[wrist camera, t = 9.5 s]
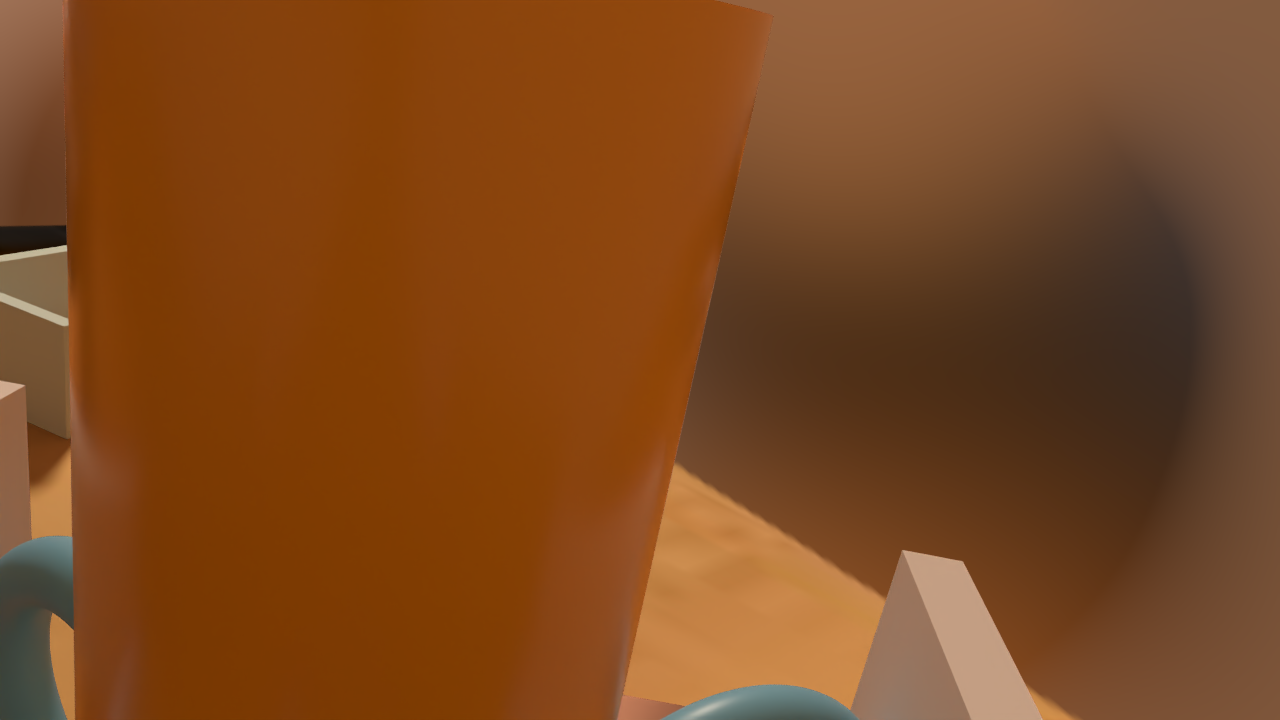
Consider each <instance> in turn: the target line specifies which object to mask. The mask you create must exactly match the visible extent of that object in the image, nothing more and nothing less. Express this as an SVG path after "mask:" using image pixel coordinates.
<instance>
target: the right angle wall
mask: <svg viewBox="0 0 1280 720" xmlns="http://www.w3.org/2000/svg"><path fill="white" fill-rule="evenodd" d="M0 381H5V382H10V383H16V384H21V385H26V410H27V422H29V423H31V424H33V425H36V426H38V427H40V428H42V429H44V430H47V431H49V432H51V433H53V434H56V435H58V436H60V437H62V438H65V439H69V438H71V433H70V378H69V323H68V269H67V245H66V246H60V247H53V248H47V249H40V250H34V251H27V252H21V253H14V254H8V255H1V256H0Z"/></svg>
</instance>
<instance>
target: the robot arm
mask: <svg viewBox="0 0 1280 720" xmlns="http://www.w3.org/2000/svg"><path fill="white" fill-rule="evenodd" d="M30 540H32V536H31V511H30V486H29V460H28V435H27V410H26V385H21V384H16V383H10V382H5V381H0V559H1V558H2V557H3V556H4V555H5V554H6V553H8V552H9V551H10V550H12V549H13V548H15V547H17V546H18V545H20V544H22V543H25V542H27V541H30ZM850 711H851V712H852V713H853V714H854V715H855V716H856V717H857V718H858V719H859V720H1043V719H1042V717H1041V715H1040V713H1039V711H1038V709H1037V707H1036V705H1035V703H1034V701H1033V699H1032V697H1031V695H1030V693H1029V691H1028V689H1027V687H1026V685H1025V683H1024V681H1023V679H1022V677H1021V675H1020V674H1019V671H1018V669H1017V667H1016V666H1015V664H1014V662H1013V660H1012V658H1011V656H1010V654H1009V652H1008V650H1007V648H1006V646H1005V644H1004V642H1003V640H1002V638H1001V636H1000V634H999V632H998V630H997V628H996V626H995V624H994V622H993V620H992V618H991V616H990V614H989V612H988V610H987V609H986V606H985V604H984V603H983V601H982V599H981V597H980V595H979V593H978V591H977V589H976V587H975V585H974V583H973V581H972V579H971V577H970V575H969V573H968V571H967V569H966V567H965V565H964V563H963V562H962V561H957V560H952V559H947V558H941V557H936V556H931V555H925V554H920V553H915V552H909V551H904V550H903V551H902V553H901V556H900V559H899V562H898V565H897V568H896V572H895V575H894V578H893V581H892V584H891V587H890V590H889V593H888V596H887V599H886V602H885V605H884V608H883V612H882V615H881V618H880V621H879V624H878V627H877V630H876V633H875V636H874V639H873V642H872V645H871V649H870V652H869V655H868V658H867V661H866V664H865V667H864V670H863V673H862V676H861V679H860V682H859V685H858V689H857V692H856V695H855V698H854V701H853V704H852V707H851V710H850Z"/></svg>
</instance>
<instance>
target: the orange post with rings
mask: <svg viewBox="0 0 1280 720" xmlns="http://www.w3.org/2000/svg"><path fill="white" fill-rule="evenodd" d="M773 17H774V16H772V15H769V14H767V13H763V12H760V11H756V10H752V9H748V8H744V7H740V6H736V5H732V4H728V3H724V2H720V1H715V0H63V51H64V52H63V54H64V105H65V106H64V108H65V158H66V160H65V161H66V213H67V269H68V323H69V378H70V433H71V491H72V537H68V536H47V537H41V538H37V539H33V540H30V541H27V542H25V543H22V544H20V545H18V546H17V547H15V548H13V549H12V550H10V551H9V552H8V553H6V554H5V555H4V556H3V557H2V558H1V559H0V720H67V718H66V715H65V712H64V709H63V706H62V703H61V700H60V697H59V694H58V690H57V686H56V682H55V678H54V673H53V668H52V662H51V654H50V622H51V616H52V612H53V613H54V614H56V615H57V616H59V617H60V618H61V619H62V620H64V621H65V622H66V623H67V624H68V625H69V626H70V627H71V628H72V629H73V630H74V668H75V720H617V718H618V714H619V709H620V705H621V700H622V696H623V691H624V687H625V682H626V677H627V673H628V668H629V664H630V659H631V655H632V650H633V646H634V641H635V637H636V632H637V628H638V623H639V619H640V614H641V610H642V605H643V601H644V596H645V592H646V587H647V583H648V578H649V574H650V569H651V565H652V560H653V556H654V551H655V547H656V542H657V538H658V533H659V529H660V524H661V520H662V515H663V511H664V506H665V502H666V497H667V493H668V488H669V484H670V479H671V475H672V470H673V466H674V461H675V457H676V452H677V448H678V443H679V438H680V434H681V430H682V425H683V421H684V416H685V412H686V407H687V403H688V398H689V393H690V389H691V385H692V380H693V376H694V371H695V367H696V362H697V358H698V354H699V349H700V344H701V340H702V336H703V331H704V327H705V322H706V318H707V313H708V308H709V304H710V299H711V295H712V291H713V286H714V281H715V277H716V273H717V268H718V264H719V259H720V255H721V250H722V246H723V241H724V237H725V232H726V228H727V224H728V219H729V215H730V210H731V206H732V201H733V196H734V192H735V188H736V183H737V179H738V174H739V170H740V165H741V161H742V156H743V152H744V147H745V143H746V138H747V134H748V129H749V125H750V120H751V116H752V112H753V107H754V103H755V98H756V94H757V89H758V84H759V80H760V75H761V71H762V67H763V62H764V57H765V53H766V48H767V44H768V40H769V35H770V31H771V26H772V22H773ZM660 720H859V719H858V718H857V717H856V716H855V715H854V714H853V713H852V712H851V711H850V710H849V709H848V708H846V707H845V706H844V705H842V704H841V703H839V702H838V701H836V700H835V699H833V698H831V697H829V696H827V695H825V694H822V693H820V692H817V691H814V690H811V689H807V688H802V687H797V686H790V685H758V686H750V687H744V688H738V689H734V690H730V691H726V692H722V693H719V694H716V695H713V696H710V697H707V698H704V699H702V700H699V701H697V702H694V703H692V704H690V705H687V706H685V707H683V708H681V709H679V710H677V711H675V712H673V713H671V714H669V715H667V716H666V717H664V718H662V719H660Z"/></svg>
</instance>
